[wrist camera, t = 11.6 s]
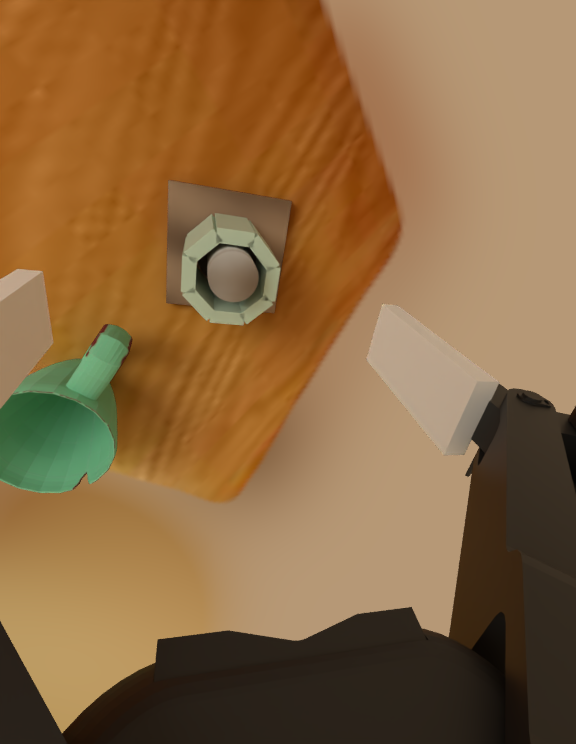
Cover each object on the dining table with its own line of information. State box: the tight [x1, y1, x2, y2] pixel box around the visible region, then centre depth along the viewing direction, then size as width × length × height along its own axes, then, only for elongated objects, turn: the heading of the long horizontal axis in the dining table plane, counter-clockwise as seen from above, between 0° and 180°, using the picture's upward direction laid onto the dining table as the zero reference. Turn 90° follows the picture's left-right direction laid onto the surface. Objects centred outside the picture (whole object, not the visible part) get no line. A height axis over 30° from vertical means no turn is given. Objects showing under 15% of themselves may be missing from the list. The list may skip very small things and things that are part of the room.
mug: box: [0, 324, 132, 493], centre depth 32 cm, size 15×10×10 cm
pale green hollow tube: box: [181, 213, 281, 325], centre depth 30 cm, size 7×7×6 cm
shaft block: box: [166, 180, 292, 313], centre depth 30 cm, size 10×10×9 cm
